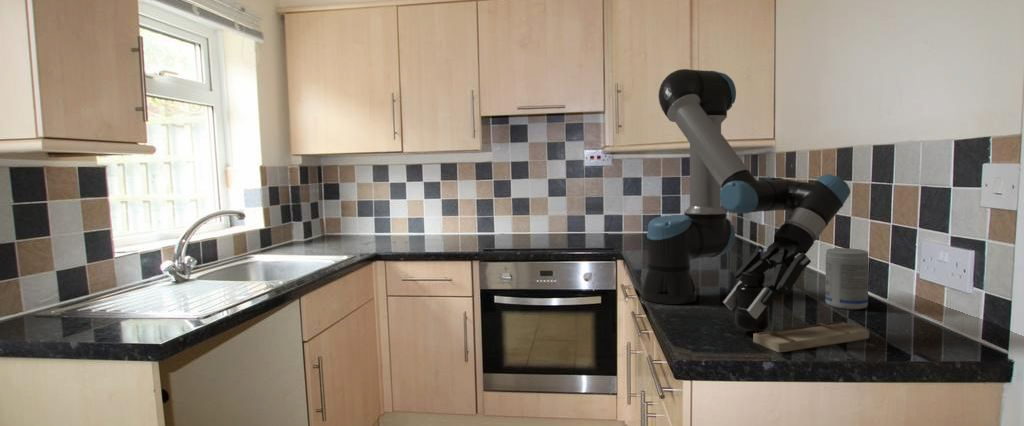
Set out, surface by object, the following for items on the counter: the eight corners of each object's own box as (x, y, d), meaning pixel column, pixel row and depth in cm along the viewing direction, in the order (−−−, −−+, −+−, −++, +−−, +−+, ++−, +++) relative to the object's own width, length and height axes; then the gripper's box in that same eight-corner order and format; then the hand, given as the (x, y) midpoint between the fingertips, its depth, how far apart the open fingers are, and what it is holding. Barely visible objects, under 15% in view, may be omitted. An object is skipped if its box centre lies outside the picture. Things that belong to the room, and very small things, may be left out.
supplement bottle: (736, 329, 114) (736, 275, 113) (734, 320, 120) (734, 269, 119) (771, 331, 112) (771, 276, 111) (767, 323, 118) (767, 270, 117)
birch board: (753, 341, 111) (753, 332, 111) (839, 329, 118) (839, 320, 118) (778, 352, 104) (779, 342, 104) (868, 338, 111) (869, 329, 111)
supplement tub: (874, 306, 136) (876, 250, 135) (857, 312, 131) (859, 254, 129) (834, 299, 144) (836, 246, 143) (817, 304, 139) (818, 250, 138)
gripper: (846, 249, 110) (784, 333, 106) (774, 238, 128) (719, 310, 125) (827, 225, 108) (763, 310, 104) (757, 218, 127) (700, 290, 123)
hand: (739, 310), depth 115 cm, fingers closed on supplement bottle, 7 cm apart
